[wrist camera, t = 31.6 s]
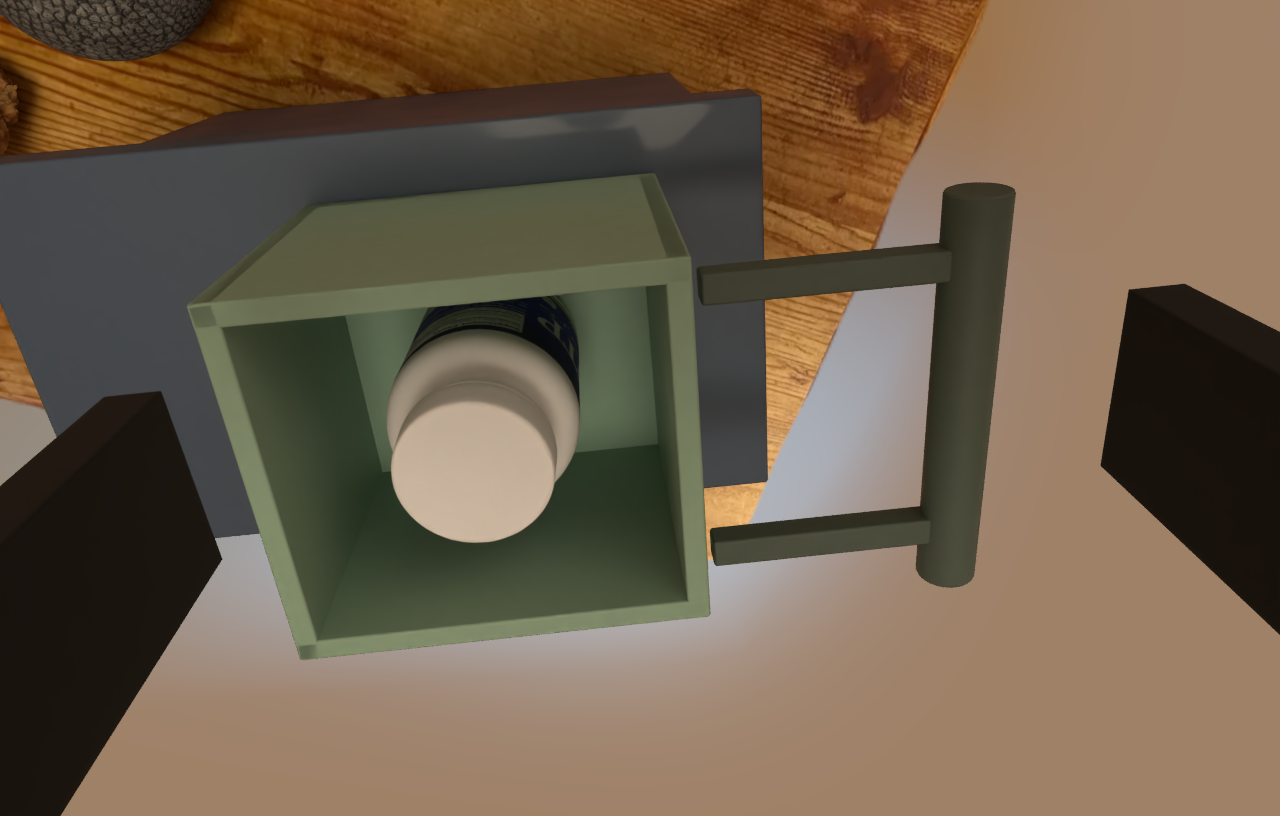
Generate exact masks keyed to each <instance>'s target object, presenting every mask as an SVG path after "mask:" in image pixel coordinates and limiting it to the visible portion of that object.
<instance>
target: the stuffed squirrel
mask: <svg viewBox="0 0 1280 816" xmlns="http://www.w3.org/2000/svg"><path fill="white" fill-rule="evenodd" d="M0 65H1V63H0ZM12 83H13V82H12V80H11V79H10V78H8V77H6V75H5V74H4V73H3V70H2V69H1V68H0V155H3V154H4V153H3V152H4V151H6V150H7V148H8V140H9V139H10V132H9V127H10V126H11V124H16V123H15V122H17V121H18V115H19V111H18V110H16V109H17V105H18V103H19V99H17V98H16V97H17V92H16V89H17V88H18V87H17V85H14V86H13V85H12Z"/></svg>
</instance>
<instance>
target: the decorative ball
mask: <svg viewBox="0 0 1280 816" xmlns="http://www.w3.org/2000/svg"><path fill="white" fill-rule="evenodd" d="M213 1H214V0H0V15H2V16H3V17H4V18H5V19H7V20H8V21H9V22H10V23H12V24H13V25H14V26H16V27H17V28H19V29H20V30H22V31H23V32H25V33H26V34H28V35H29V36H31V37H33V38H35V39H36V40H38V41H40V42H42V43H44V44H46V45H48V46H50V47H52V48H55V49H57V50H60V51H63V52H65V53H68V54H72V55H75V56H79V57H83V58H88V59H94V60H102V61H128V60H136V59H141V58H145V57H149V56H152V55H155V54H158V53H161V52H163V51H165V50H168V49H170V48H171V47H173V46H175V45H177V44H178V43H180V42H181V41H183V40H184V39H185V38H186V37H188V36H189V35H190V34H191V33H192V32H193V31H194V30H195V29H196V28H197V27H198V25H199V24H200V23H201V22H202V20H203V19H204V17H205V16H206V14H207V13H208V11H209V9H210V7H211V5H212V3H213Z"/></svg>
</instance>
